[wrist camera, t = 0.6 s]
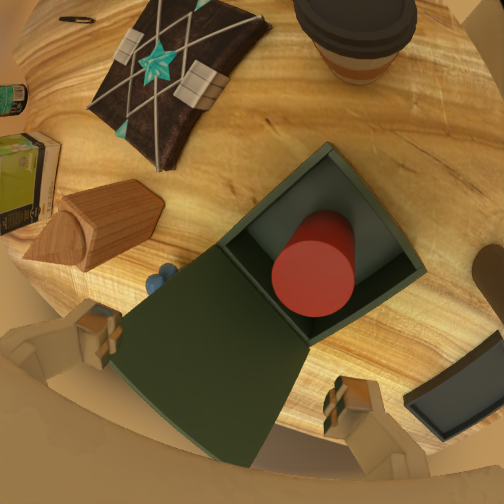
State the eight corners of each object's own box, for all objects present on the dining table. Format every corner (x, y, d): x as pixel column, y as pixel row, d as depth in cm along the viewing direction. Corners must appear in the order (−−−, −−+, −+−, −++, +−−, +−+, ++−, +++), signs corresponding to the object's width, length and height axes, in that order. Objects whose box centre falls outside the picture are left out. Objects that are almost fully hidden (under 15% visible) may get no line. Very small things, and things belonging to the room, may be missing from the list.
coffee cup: (394, 99, 25) (428, 60, 12) (316, 90, 27) (286, 45, 14) (392, 31, 22) (412, -41, 9) (317, 24, 24) (286, -51, 11)
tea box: (38, 130, 42) (-24, 139, 29) (63, 144, 41) (-8, 156, 28) (29, 197, 49) (-26, 216, 36) (52, 218, 47) (-9, 241, 34)
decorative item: (120, 214, 41) (7, 261, 23) (133, 176, 38) (8, 210, 20) (151, 240, 40) (38, 302, 23) (167, 201, 38) (40, 252, 20)
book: (175, 171, 36) (151, 175, 31) (101, 110, 36) (76, 110, 32) (274, 27, 26) (261, 10, 21) (176, -13, 26) (155, -26, 22)
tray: (497, 329, 28) (502, 338, 26) (522, 381, 28) (525, 389, 26) (403, 396, 36) (403, 405, 34) (441, 433, 36) (442, 442, 34)
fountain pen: (57, 21, 33) (52, 20, 32) (60, 16, 32) (54, 15, 31) (95, 24, 31) (88, 23, 30) (97, 18, 31) (91, 16, 30)
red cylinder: (325, 197, 30) (312, 222, 20) (366, 240, 30) (371, 284, 20) (285, 237, 33) (254, 277, 23) (325, 276, 33) (311, 330, 23)
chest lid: (93, 341, 16) (84, 355, 19) (244, 477, 17) (212, 473, 20) (215, 243, 29) (192, 266, 32) (310, 349, 29) (280, 361, 32)
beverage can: (13, 102, 43) (-29, 107, 32) (24, 78, 40) (-20, 80, 29) (20, 121, 43) (-24, 127, 33) (31, 95, 40) (-16, 99, 30)
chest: (332, 143, 29) (327, 141, 23) (414, 247, 29) (427, 271, 23) (239, 226, 35) (214, 244, 29) (317, 315, 36) (308, 348, 30)
